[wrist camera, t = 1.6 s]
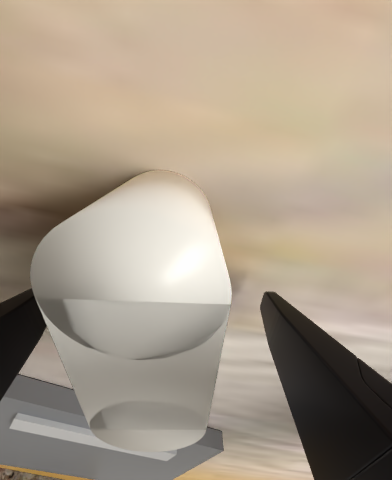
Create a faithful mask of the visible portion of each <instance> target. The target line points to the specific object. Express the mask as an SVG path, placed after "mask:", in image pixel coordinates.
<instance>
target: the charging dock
mask: <svg viewBox="0 0 392 480" xmlns="http://www.w3.org/2000/svg"><path fill="white" fill-rule="evenodd" d="M222 451H224V448H223V438H222V431H219V430H215V429H211V428H208V427H207V430H206V433H205V434H204V436H203V437H202V438H201V439H200V440H199V441H197V442H196V443H194V444H192V445H189V446H187V447H184V448H181V449H177V450H171V451H163V452H140V451H132V450H126V449H122V448H118V447H115V446H112V445H109V444H107V443H105V442H103V441H102V440H100V439H98V438H97V437H96V436H95V435H94V434H93V433H92V431H91V429H90V427H89V425H88V422H87V420H86V417H85V415H84V413H83V410H82V408H81V406H80V403H79V401H78V399H77V396H76V394H75V391H74V390H72V389H68V388H64V387H61V386H57V385H54V384H50V383H46V382H43V381H39V380H36V379H32V378H28V377H25V376H21V375H17V376H16V378H15V379H14V381H13V382H12V384H11V386H10V387H9V389H8V390H7V392H6V393H5V395H4V397H3V398H2V400H1V401H0V464H1V465H7V466H14V467H20V468H26V469H32V470H38V471H45V472H51V473H57V474H63V475H69V476H76V477H82V478H88V479H94V480H173V479H174V478H176V477H178V476H180V475H182V474H183V473H185V472H187V471H189V470H190V469H192V468H194V467H196V466H198V465H199V464H201V463H203V462H205V461H206V460H208V459H210V458H212V457H214V456H215V455H217V454H219V453H221V452H222Z"/></svg>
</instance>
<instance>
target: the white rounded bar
mask: <svg viewBox="0 0 392 480" xmlns="http://www.w3.org/2000/svg"><path fill="white" fill-rule="evenodd" d="M30 279H31V286H32V290H33V293H34V296H35V299H36V301H37V304H38V306H39V308H40V311H41V313H42V315H43V318H44V320H45V323H46V325H47V327H48V330H49V332H50V334H51V337H52V339H53V342H54V344H55V346H56V349H57V351H58V353H59V356H60V358H61V361H62V363H63V365H64V368H65V370H66V372H67V375H68V377H69V380H70V382H71V384H72V387H73V389H74V391H75V394H76V396H77V399H78V401H79V403H80V406H81V408H82V410H83V413H84V415H85V417H86V420H87V422H88V425H89V427H90V429H91V431H92V433H93V434H94V435H95V436H96V437H97V438H98V439H100V440H102V441H103V442H105V443H107V444H109V445H112V446H115V447H118V448H122V449H126V450H132V451H140V452H163V451H171V450H177V449H181V448H184V447H187V446H189V445H192V444H194V443H196V442H197V441H199V440H200V439H201V438H202V437H203V436H204V434H205V433H206V430H207V424H208V419H209V414H210V409H211V404H212V399H213V393H214V388H215V383H216V378H217V373H218V368H219V363H220V357H221V352H222V347H223V342H224V337H225V332H226V326H227V321H228V316H229V311H230V306H231V297H232V291H231V283H230V279H229V275H228V271H227V267H226V263H225V260H224V256H223V252H222V249H221V245H220V241H219V238H218V234H217V230H216V226H215V223H214V219H213V215H212V212H211V208H210V205H209V202H208V200H207V198H206V196H205V194H204V193H203V192H202V190H201V189H200V188H199V187H198V186H197V185H196V184H195V183H194V182H193V181H191V180H190V179H188V178H187V177H185V176H183V175H181V174H178V173H175V172H172V171H166V170H154V171H148V172H144V173H141V174H139V175H137V176H135V177H134V178H132V179H130V180H129V181H127V182H126V183H124V184H122V185H121V186H119V187H118V188H116V189H114V190H113V191H111V192H110V193H108V194H106V195H105V196H103V197H102V198H100V199H98V200H97V201H95V202H94V203H92V204H91V205H89V206H87V207H86V208H84V209H83V210H81V211H79V212H78V213H76V214H75V215H73V216H71V217H70V218H68V219H67V220H65V221H63V222H62V223H60V224H59V225H57V226H56V227H54V228H53V229H52V230H51V231H50V232H49V233H48V234H47V235H46V236H45V237H44V238H43V239H42V241H41V242H40V244H39V245H38V246H37V249H36V251H35V253H34V255H33V259H32V263H31V268H30Z"/></svg>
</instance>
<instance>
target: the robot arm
mask: <svg viewBox="0 0 392 480" xmlns="http://www.w3.org/2000/svg"><path fill="white" fill-rule="evenodd" d="M260 310H261V315H262V319H263V324H264V328H265V332H266V337H267V341H268V345H269V348H270V351H271V354H272V357H273V360H274V363H275V366H276V369H277V372H278V375H279V378H280V380H281V383H282V386H283V389H284V392H285V395H286V398H287V401H288V404H289V407H290V410H291V413H292V416H293V419H294V422H295V424H296V427H297V430H298V433H299V436H300V439H301V442H302V445H303V448H304V451H305V454H306V457H307V460H308V463H309V465H310V468H311V471H312V474H313V477H314V480H392V383H390V382H389V381H388V380H386V379H385V378H384V377H382V376H381V375H380V374H378V373H377V372H376V371H375V370H373V369H372V368H371V367H369V366H368V365H367V364H366V363H364V362H363V361H362V360H360V359H359V358H357V357H356V356H355V355H354V354H353V353H351V352H350V351H349V350H348V349H346V348H345V347H344V346H343V345H341V344H340V343H339V342H338V341H336V340H335V339H334V338H332V337H331V336H330V335H329V334H327V333H326V332H325V331H324V330H322V329H321V328H320V327H318V326H317V325H316V324H315V323H313V322H312V321H311V320H310V319H308V318H307V317H306V316H305V315H303V314H302V313H301V312H299V311H298V310H297V309H296V308H294V307H293V306H292V305H291V304H289V303H288V302H287V301H286V300H284V299H283V298H282V297H280V296H279V295H278V294H277V293H275V292H265V293H264V295H263V298H262V302H261V305H260ZM46 326H47V325H46V323H45V320H44V318H43V315H42V313H41V311H40V308H39V306H38V304H37V301H36V299H35V296H34V293H33V290H32V288H31V289H29V290H27V291H25V292H23V293H21V294H19V295H17V296H15V297H12V298H10V299H8V300H6V301H4V302H2V303H0V401H1V400H2V398H3V397H4V395H5V393H6V392H7V390H8V389H9V387H10V386H11V384H12V382H13V381H14V379H15V378H16V376H17V375H18V373H19V371H20V370H21V368H22V367H23V365H24V364H25V362H26V360H27V359H28V357H29V356H30V354H31V353H32V351H33V349H34V348H35V346H36V345H37V343H38V341H39V340H40V338H41V336H42V334H43V332H44V330H45V328H46Z"/></svg>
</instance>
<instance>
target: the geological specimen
mask: <svg viewBox="0 0 392 480" xmlns="http://www.w3.org/2000/svg"><path fill="white" fill-rule="evenodd" d="M0 480H63V479H58V478H52V477H47V476H41V475H36V474H31V473H25V472H20V471H14V470H9V469H4V468H0Z"/></svg>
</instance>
